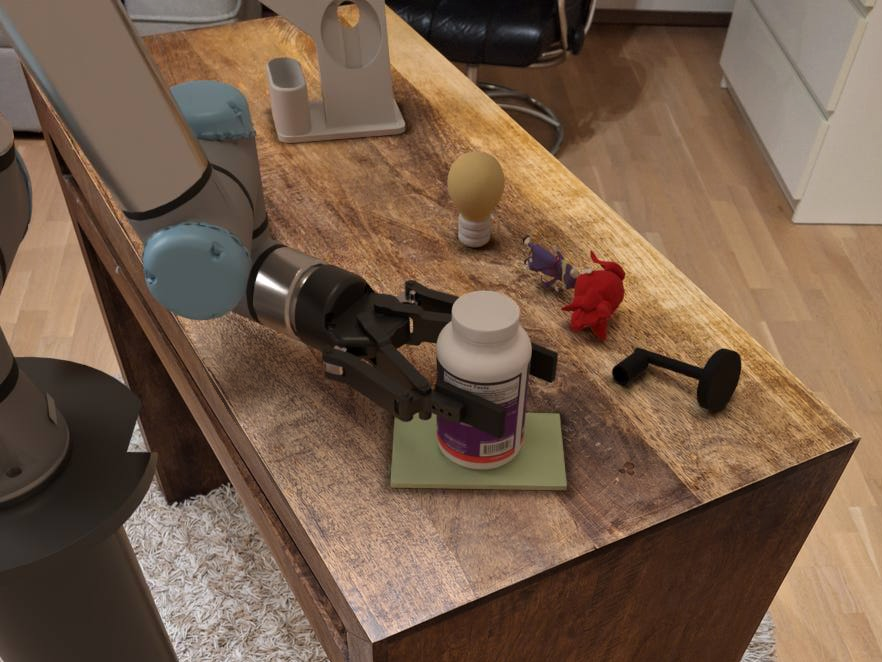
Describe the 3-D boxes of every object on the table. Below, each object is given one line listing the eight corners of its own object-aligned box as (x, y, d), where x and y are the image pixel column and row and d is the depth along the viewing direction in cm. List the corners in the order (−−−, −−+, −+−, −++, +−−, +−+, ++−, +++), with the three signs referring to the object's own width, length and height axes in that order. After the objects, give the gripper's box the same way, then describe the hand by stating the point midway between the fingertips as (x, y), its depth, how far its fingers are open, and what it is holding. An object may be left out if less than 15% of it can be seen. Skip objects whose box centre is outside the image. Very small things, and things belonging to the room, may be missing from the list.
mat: (390, 487, 82) (390, 483, 81) (395, 414, 87) (395, 409, 87) (566, 490, 82) (567, 485, 82) (559, 418, 88) (559, 413, 88)
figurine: (547, 257, 103) (648, 317, 97) (495, 299, 101) (595, 363, 95) (544, 208, 97) (651, 269, 92) (489, 252, 95) (595, 317, 90)
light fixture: (576, 423, 91) (653, 365, 96) (663, 457, 85) (739, 394, 91) (573, 370, 87) (654, 313, 92) (664, 403, 81) (744, 340, 86)
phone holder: (276, 144, 118) (254, -18, 103) (268, 108, 123) (245, -50, 109) (407, 133, 121) (402, -26, 106) (392, 99, 126) (386, -56, 112)
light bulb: (506, 231, 107) (511, 145, 99) (494, 260, 104) (499, 173, 96) (454, 223, 108) (455, 137, 100) (440, 251, 104) (441, 164, 96)
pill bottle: (464, 406, 87) (468, 269, 76) (537, 436, 85) (552, 300, 74) (419, 454, 83) (416, 318, 71) (495, 487, 81) (505, 352, 69)
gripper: (385, 287, 91) (582, 368, 85) (248, 397, 81) (462, 499, 74) (381, 215, 85) (592, 296, 79) (233, 324, 75) (463, 429, 68)
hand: (529, 395), depth 76 cm, fingers closed on pill bottle, 8 cm apart
